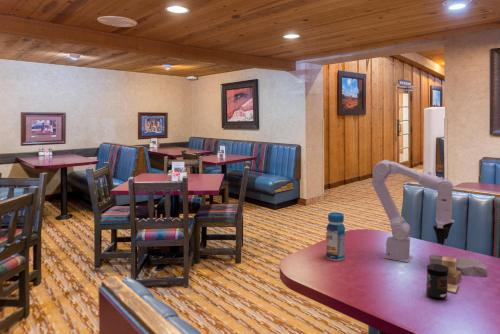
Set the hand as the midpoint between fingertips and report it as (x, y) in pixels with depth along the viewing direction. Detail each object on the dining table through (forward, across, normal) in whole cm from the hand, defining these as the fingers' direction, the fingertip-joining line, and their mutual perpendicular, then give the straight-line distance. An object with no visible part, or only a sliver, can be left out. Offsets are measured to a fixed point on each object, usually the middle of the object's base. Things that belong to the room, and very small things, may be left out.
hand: (442, 240), depth 159 cm
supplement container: (+11, -32, -4) cm, 34 cm away
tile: (+10, -22, -6) cm, 26 cm away
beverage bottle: (+11, -17, +40) cm, 45 cm away
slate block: (+10, -6, +1) cm, 12 cm away
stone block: (+11, 0, -10) cm, 15 cm away
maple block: (+7, -15, -5) cm, 17 cm away
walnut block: (+11, -14, -5) cm, 19 cm away
